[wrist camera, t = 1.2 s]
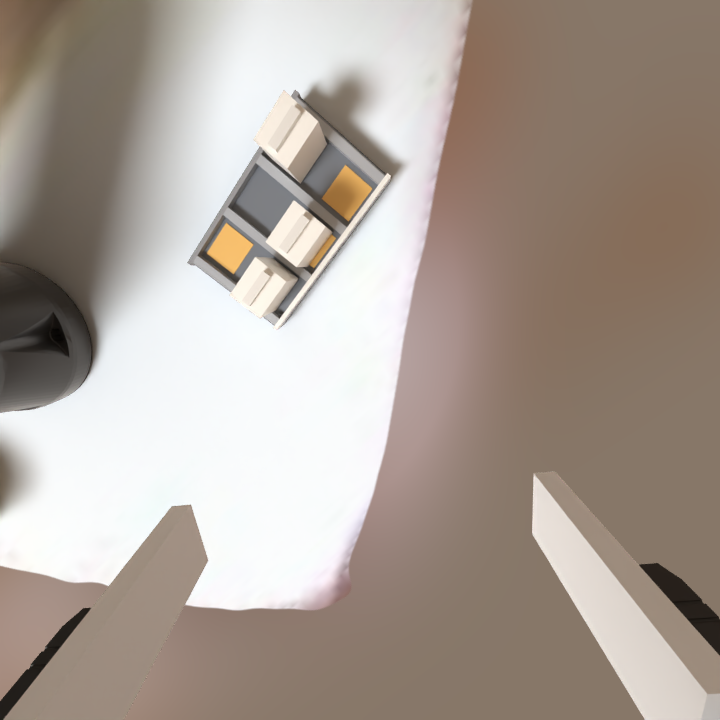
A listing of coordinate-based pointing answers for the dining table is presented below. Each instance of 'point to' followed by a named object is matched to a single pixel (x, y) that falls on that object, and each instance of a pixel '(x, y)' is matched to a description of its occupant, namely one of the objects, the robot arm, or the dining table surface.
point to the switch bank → (272, 199)
